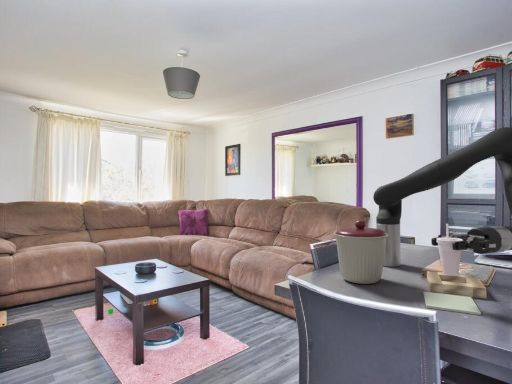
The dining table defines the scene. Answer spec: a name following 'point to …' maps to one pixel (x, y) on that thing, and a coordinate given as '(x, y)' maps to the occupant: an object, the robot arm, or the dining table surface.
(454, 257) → the smoothie
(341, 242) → the canister
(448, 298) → the mat
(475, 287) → the holder
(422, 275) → the dining table surface
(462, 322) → the dining table surface
